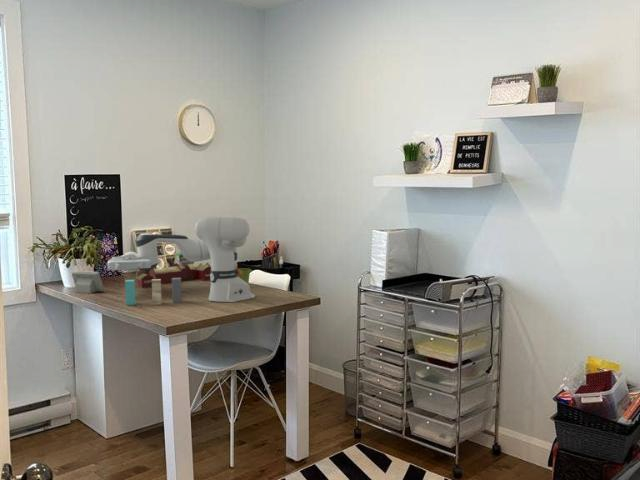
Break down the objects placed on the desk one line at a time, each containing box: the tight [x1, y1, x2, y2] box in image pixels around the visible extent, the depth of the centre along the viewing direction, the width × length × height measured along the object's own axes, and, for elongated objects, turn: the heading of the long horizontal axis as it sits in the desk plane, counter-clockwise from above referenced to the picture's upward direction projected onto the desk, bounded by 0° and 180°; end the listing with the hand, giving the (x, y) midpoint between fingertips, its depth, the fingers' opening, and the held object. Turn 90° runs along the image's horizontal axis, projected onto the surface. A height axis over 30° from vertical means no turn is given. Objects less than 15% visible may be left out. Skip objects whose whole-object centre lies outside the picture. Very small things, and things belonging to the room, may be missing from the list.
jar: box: [135, 266, 157, 278], centre depth 358 cm, size 12×12×15 cm
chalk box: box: [174, 252, 195, 267], centre depth 374 cm, size 9×9×15 cm
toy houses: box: [135, 262, 211, 289], centre depth 342 cm, size 45×20×10 cm, turn 128°
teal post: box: [124, 279, 136, 306], centre depth 282 cm, size 4×4×11 cm
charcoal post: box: [171, 278, 183, 304], centre depth 287 cm, size 4×4×11 cm
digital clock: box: [71, 270, 105, 294], centre depth 313 cm, size 16×9×11 cm, turn 62°
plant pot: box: [235, 267, 252, 284], centre depth 328 cm, size 9×9×9 cm
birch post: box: [151, 279, 162, 306], centre depth 283 cm, size 4×4×11 cm
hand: (129, 266), depth 293 cm, fingers open, 8 cm apart
